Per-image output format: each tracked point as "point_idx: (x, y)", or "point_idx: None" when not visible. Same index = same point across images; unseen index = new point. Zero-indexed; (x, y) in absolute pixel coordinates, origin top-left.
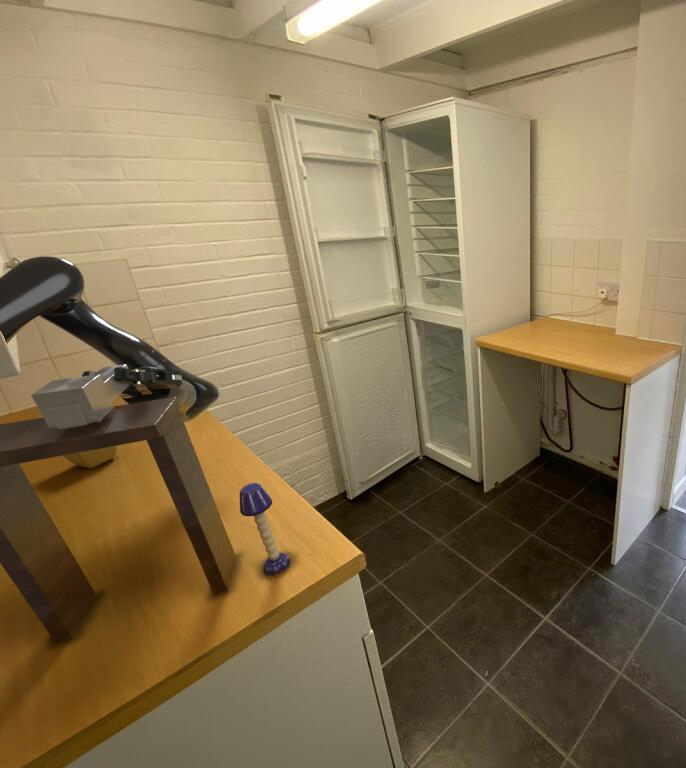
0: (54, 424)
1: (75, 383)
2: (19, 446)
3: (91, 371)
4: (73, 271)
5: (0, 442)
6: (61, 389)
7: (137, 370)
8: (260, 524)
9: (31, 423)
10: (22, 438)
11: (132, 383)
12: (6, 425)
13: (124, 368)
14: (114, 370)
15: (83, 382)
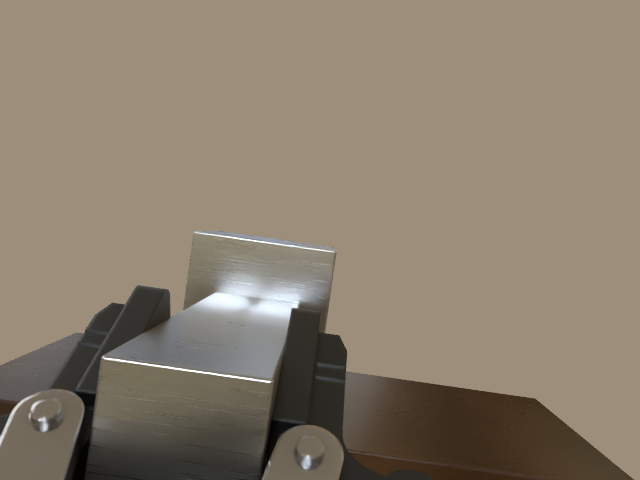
0: None
1: (247, 236)
2: (367, 377)
3: (290, 318)
4: None
5: (438, 401)
6: (269, 238)
7: (37, 400)
8: None
9: (449, 443)
10: (391, 395)
11: None
12: (546, 467)
13: (120, 318)
14: (169, 300)
15: (227, 233)
